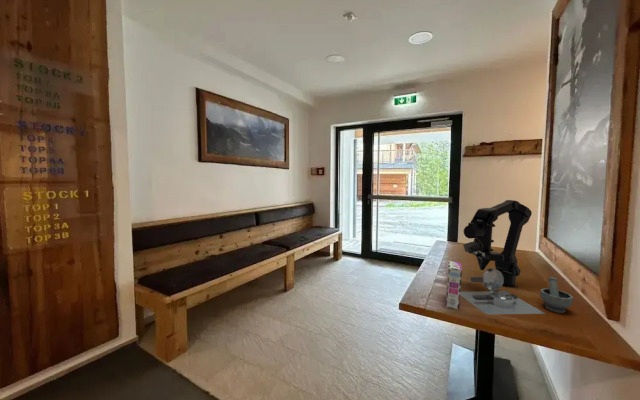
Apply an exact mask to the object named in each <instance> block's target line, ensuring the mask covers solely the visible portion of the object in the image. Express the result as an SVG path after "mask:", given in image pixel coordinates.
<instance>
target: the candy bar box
mask: <svg viewBox="0 0 640 400" xmlns="http://www.w3.org/2000/svg"><path fill="white" fill-rule="evenodd" d="M462 274H463V267H462V264H461V262H460V261H459V262H458V261H451V260H448V266H447V277H446V290H445V292H446V293H445V308H449V309H455V310H460V300H461V295H460V292H461V290H462V289H461V286H462V277H463V275H462Z"/></svg>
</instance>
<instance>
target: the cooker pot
mask: <svg viewBox="0 0 640 400" xmlns="http://www.w3.org/2000/svg"><path fill="white" fill-rule="evenodd" d="M488 292H489V293H488V295H473V298H474V299H475V300H487V301H488V302H489V303H491V304H492V305H495V306H498V307H502V308H512V307H513V302H514V299H518V298H519V296H518V295H516V294H514V293H513V294H512V293H510V294H507V293H503V292H499V291H498V290H489V291H488Z"/></svg>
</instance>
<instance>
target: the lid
mask: <svg viewBox="0 0 640 400" xmlns="http://www.w3.org/2000/svg"><path fill="white" fill-rule="evenodd" d="M470 282H471V283H482V284H483V286H484V287H485V288H486V289H487V290H489V291H493V290H496V291H498V290H500V289H501V288H502V287H503V286H502V285H503V282H504V278H503V275H502V273H501V272H500V271H499V270H497V269H496V268H493V267H492V268H491V267H490V268H488V269H486V270H485V271H484V272H483V273H482V276H470Z"/></svg>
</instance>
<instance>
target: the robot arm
mask: <svg viewBox="0 0 640 400" xmlns="http://www.w3.org/2000/svg"><path fill="white" fill-rule="evenodd" d="M506 213H508V220H509V222H510V224H509V228H508V232H507V235H506V239H505V241H504V242H505V243H504V247H503V250H502V251H501V252H497V251H494V249H493V248H492V243H494V242H495V241H494V239H493V236H492V235H493V228H494V227H496V224H495V222H497V220H499V217H500V216H502V215H504V214H506ZM532 215H533V214H532V211H531V209H530V208H529V207H527V205H524V204H522V203H520V202H519V201H518V200H512V199H507V200H504V201H503V202H501V203H499V204H495V205H494V206H491V207H483V208H479V209H477V210H476V211H475V213H474V215H473V217H472V219H471V220H470V222H468V223H467V224H468V225H466V226H464V229H463V235H464V236H465V237H466V239H473V241H470V242H466V243H464V244H463V245H462V246H463V248H464V249H463V250H464V252H466V253H468V254H472V255H473V256H474V257H475V258H476V260H477V264H478V267H479V270H480V271H484V270H485V269H486V268H487V266H488V265H489V264H490V262H494V267H495V269H497V270H499V271H500V272H501V273H502V275H503V278H504V282H503V285H502V287H503V288H518V285H516V278H517V277H519V276H520V275H521V269H520V267H519V266H518V259H517V256H516V253H517V249H518V246H519V242H520V237H521V234H522V230H523V227H524V226H525V225H526V224H528V222H529V221H530V218H531V217H532Z"/></svg>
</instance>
